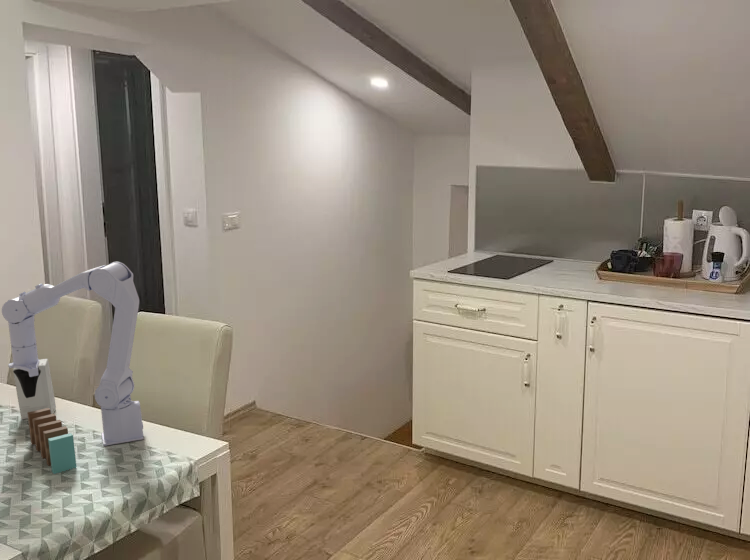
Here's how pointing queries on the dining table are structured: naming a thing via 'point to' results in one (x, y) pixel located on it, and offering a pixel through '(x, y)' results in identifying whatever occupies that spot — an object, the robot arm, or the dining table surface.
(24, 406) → the skincare box
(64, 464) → the teal domino
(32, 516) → the dining table surface
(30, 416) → the walnut domino
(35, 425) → the walnut domino
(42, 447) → the walnut domino
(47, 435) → the walnut domino
